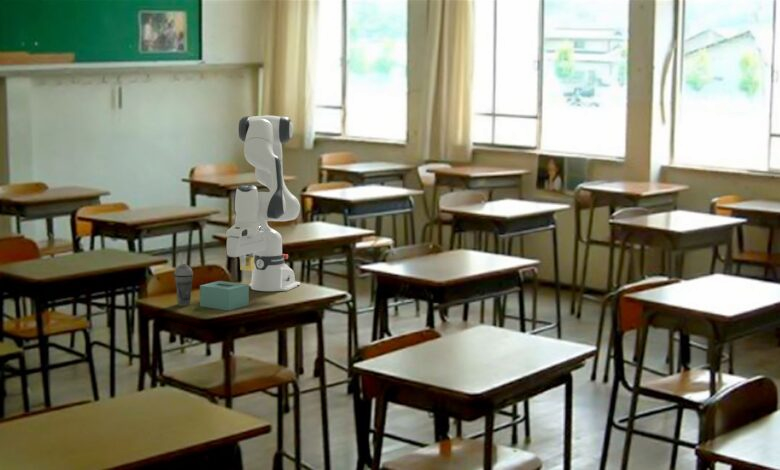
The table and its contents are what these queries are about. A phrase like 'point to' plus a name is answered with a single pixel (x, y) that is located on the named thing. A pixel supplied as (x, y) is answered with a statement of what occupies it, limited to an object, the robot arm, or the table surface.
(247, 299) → the box
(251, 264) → the yellow square block
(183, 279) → the beverage cup
